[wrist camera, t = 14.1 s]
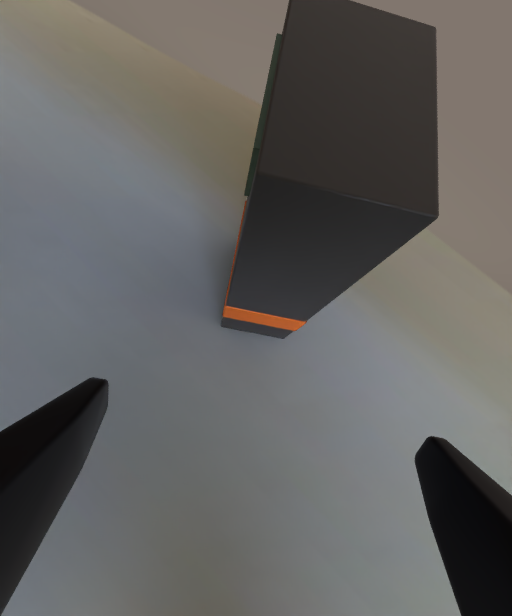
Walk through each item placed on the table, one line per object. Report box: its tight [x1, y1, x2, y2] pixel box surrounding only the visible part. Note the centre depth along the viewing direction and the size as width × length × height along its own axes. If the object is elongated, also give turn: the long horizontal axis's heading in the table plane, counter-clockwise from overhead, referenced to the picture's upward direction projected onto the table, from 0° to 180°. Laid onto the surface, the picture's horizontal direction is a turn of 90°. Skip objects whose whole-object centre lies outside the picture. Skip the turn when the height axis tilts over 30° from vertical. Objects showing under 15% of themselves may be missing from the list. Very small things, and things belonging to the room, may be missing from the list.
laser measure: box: [221, 0, 439, 339], centre depth 13 cm, size 4×6×12 cm
